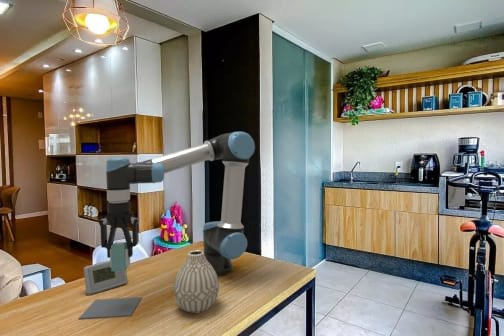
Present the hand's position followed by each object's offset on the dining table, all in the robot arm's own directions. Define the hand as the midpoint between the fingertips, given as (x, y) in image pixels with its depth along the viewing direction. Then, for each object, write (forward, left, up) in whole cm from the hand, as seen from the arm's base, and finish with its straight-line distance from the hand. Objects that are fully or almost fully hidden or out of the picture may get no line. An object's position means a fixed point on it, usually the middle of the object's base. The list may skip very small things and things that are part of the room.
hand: (120, 265), depth 107 cm
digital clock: (+12, -18, -16) cm, 26 cm away
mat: (+3, 0, -15) cm, 16 cm away
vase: (-27, +3, -15) cm, 31 cm away
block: (0, 0, -1) cm, 1 cm away
